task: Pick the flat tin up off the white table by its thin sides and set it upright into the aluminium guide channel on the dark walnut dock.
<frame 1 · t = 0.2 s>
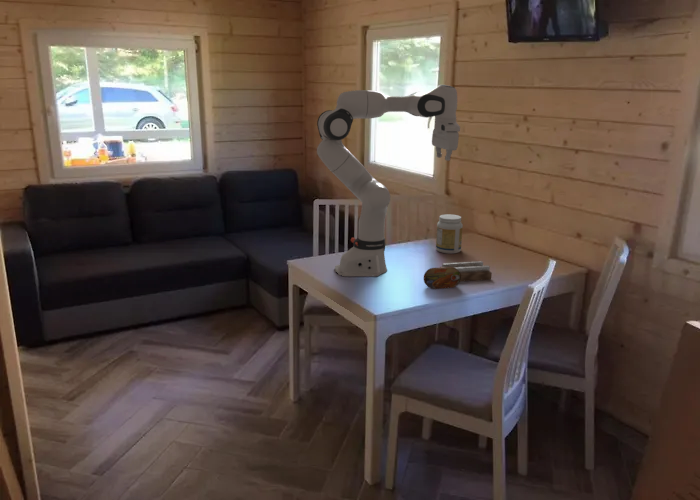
hand: (443, 158, 253), 47 cm above the table, tool pointing down, fingers open, 8 cm apart
tin: (441, 287, 240), on the table
dock: (465, 276, 253), on the table
supplement tub: (448, 251, 291), on the table
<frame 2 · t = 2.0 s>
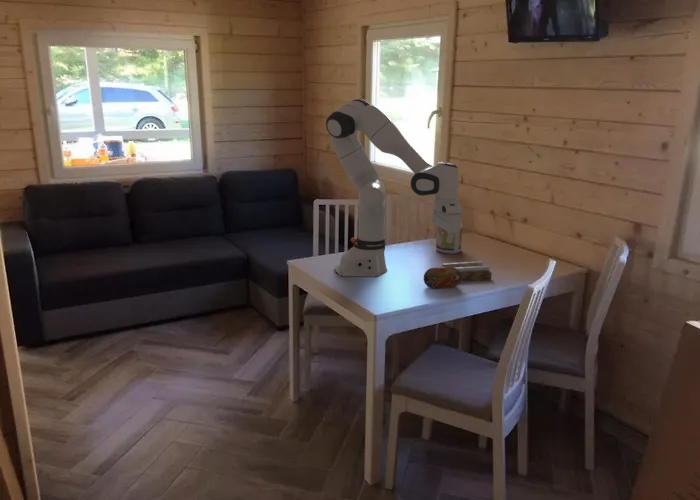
hand: (444, 239, 234), 20 cm above the table, tool pointing down, fingers open, 8 cm apart
nothing on the table moved.
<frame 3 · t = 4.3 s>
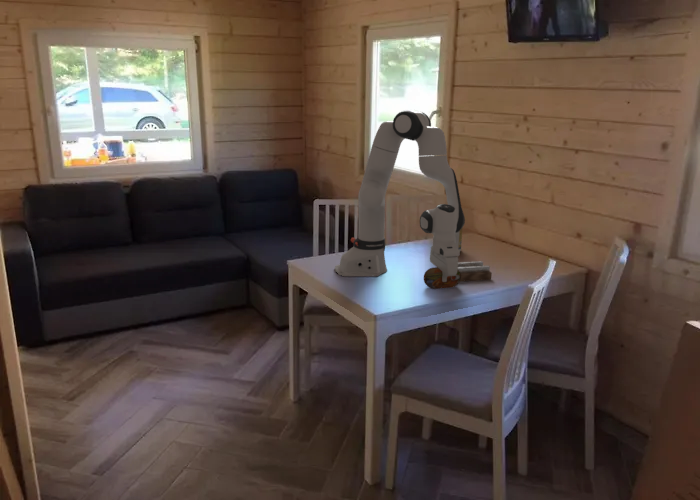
hand: (441, 279, 239), 3 cm above the table, tool pointing down, fingers closed on tin, 3 cm apart
tin: (441, 287, 240), on the table, touching gripper
everything else where it was.
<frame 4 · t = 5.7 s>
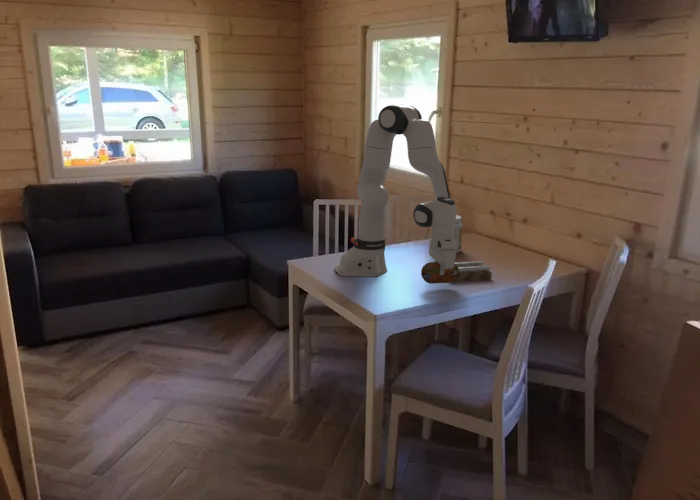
hand: (439, 273, 237), 6 cm above the table, tool pointing down, fingers closed on tin, 2 cm apart
tin: (438, 282, 239), point 2 cm above the table, touching gripper
everything else where it was.
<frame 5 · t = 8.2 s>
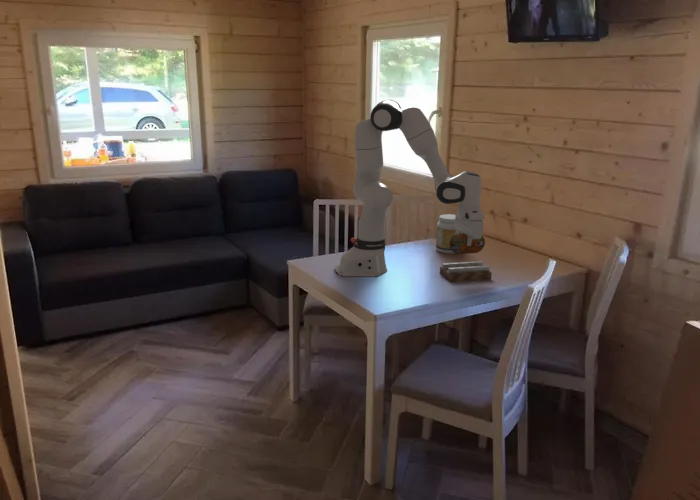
hand: (466, 244, 249), 14 cm above the table, tool pointing down, fingers closed on tin, 2 cm apart
tin: (465, 253, 250), point 10 cm above the table, touching gripper
everything else where it was.
when the fingers open (7 cm above the table, at t = 10.7 s): tin stays where it is, resting on dock.
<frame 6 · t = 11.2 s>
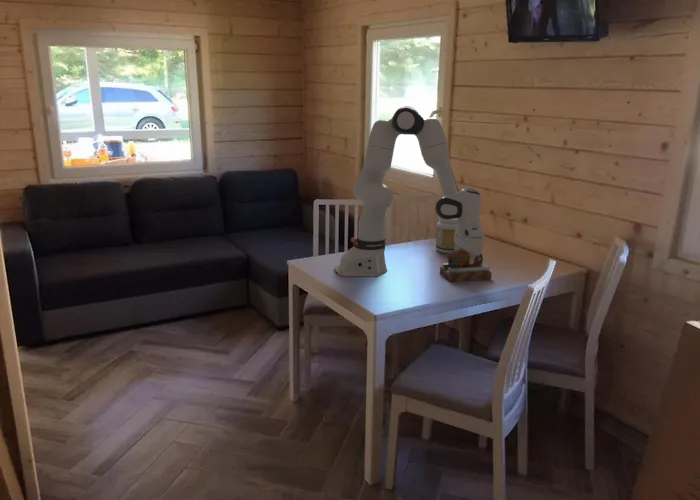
hand: (466, 260, 251), 7 cm above the table, tool pointing down, fingers open, 8 cm apart
tin: (464, 269, 254), point 3 cm above the table, touching dock
everything else where it was.
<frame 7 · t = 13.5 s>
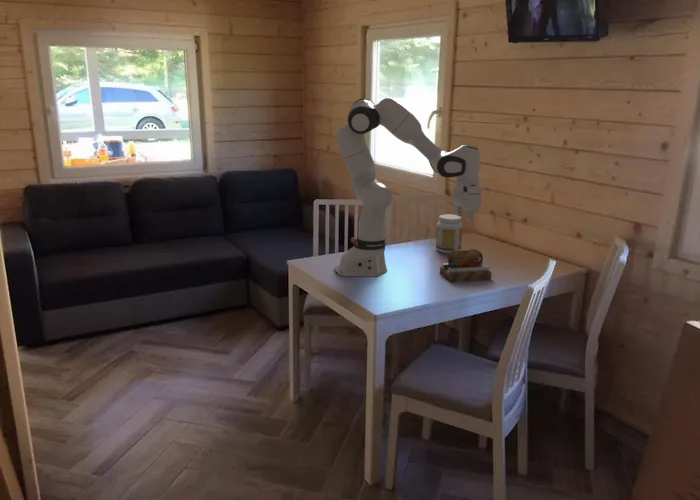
hand: (464, 218, 248), 24 cm above the table, tool pointing down, fingers open, 8 cm apart
nothing on the table moved.
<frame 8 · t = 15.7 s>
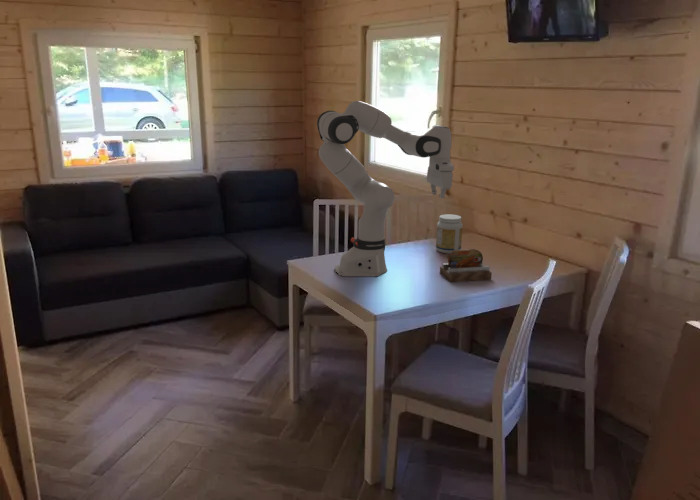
hand: (437, 196, 260), 31 cm above the table, tool pointing down, fingers open, 8 cm apart
nothing on the table moved.
at the end: tin 1.2 cm off-centre on the dock, point 2.8 cm above the dock's base; tin tilted 0°; the gripper is holding nothing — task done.
